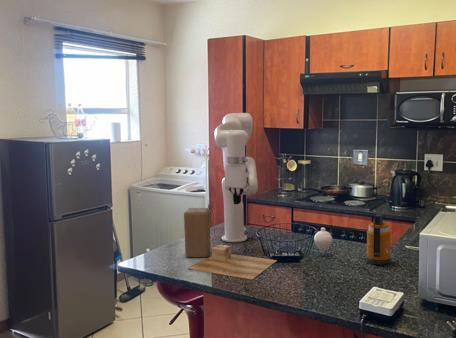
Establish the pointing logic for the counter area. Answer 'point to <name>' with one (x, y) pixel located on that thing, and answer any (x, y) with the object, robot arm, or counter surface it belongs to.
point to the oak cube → (221, 252)
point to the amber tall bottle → (378, 241)
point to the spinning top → (323, 240)
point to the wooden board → (235, 266)
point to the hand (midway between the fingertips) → (237, 203)
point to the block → (197, 232)
